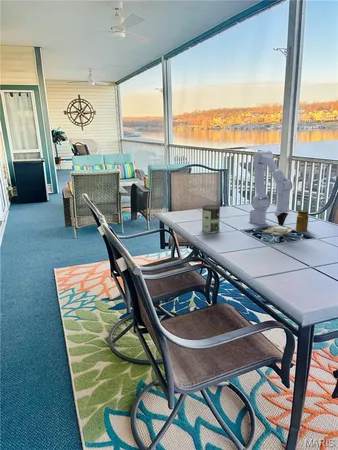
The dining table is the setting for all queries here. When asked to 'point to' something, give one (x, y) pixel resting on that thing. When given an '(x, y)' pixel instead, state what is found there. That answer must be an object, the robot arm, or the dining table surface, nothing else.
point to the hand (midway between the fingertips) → (280, 225)
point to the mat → (276, 231)
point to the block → (280, 229)
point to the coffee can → (210, 218)
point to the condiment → (302, 221)
